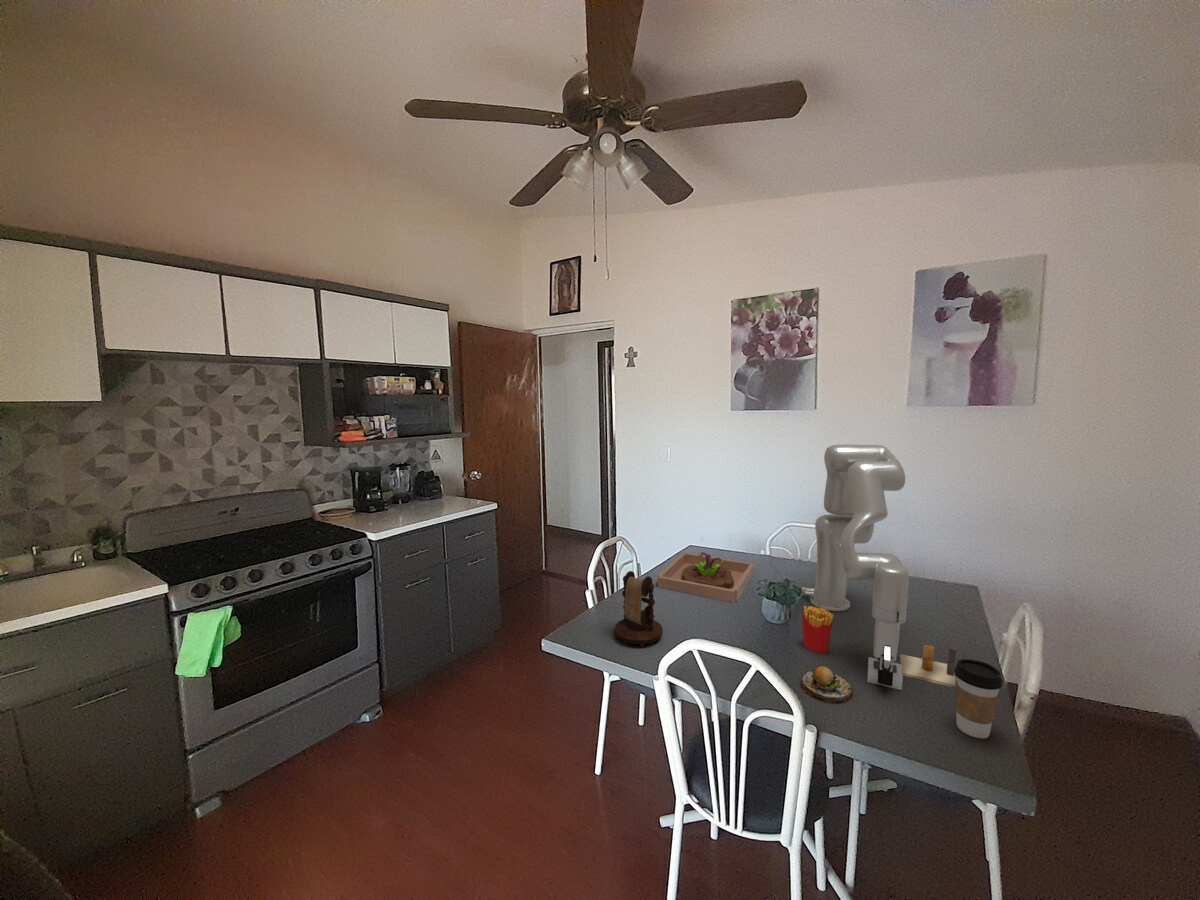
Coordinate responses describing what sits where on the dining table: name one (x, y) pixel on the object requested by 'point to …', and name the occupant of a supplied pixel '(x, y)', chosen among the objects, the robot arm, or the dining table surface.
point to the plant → (708, 573)
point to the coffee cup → (976, 696)
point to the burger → (826, 686)
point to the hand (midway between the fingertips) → (884, 673)
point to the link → (873, 673)
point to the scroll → (638, 612)
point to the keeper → (930, 667)
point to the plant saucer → (673, 581)
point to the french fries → (817, 629)
